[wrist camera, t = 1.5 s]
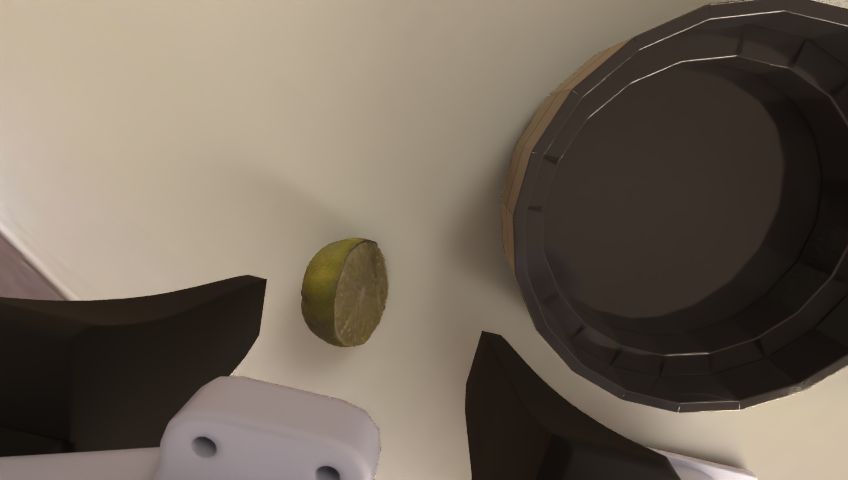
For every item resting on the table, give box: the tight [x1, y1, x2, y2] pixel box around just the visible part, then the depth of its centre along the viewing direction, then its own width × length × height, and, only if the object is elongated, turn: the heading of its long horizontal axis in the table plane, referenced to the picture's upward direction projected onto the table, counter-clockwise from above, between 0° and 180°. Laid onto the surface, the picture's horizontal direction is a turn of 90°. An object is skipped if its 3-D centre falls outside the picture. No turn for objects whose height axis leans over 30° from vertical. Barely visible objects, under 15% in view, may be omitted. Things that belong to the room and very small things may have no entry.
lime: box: [301, 238, 388, 347], centre depth 20 cm, size 4×5×5 cm
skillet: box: [501, 0, 848, 413], centre depth 19 cm, size 16×16×4 cm
